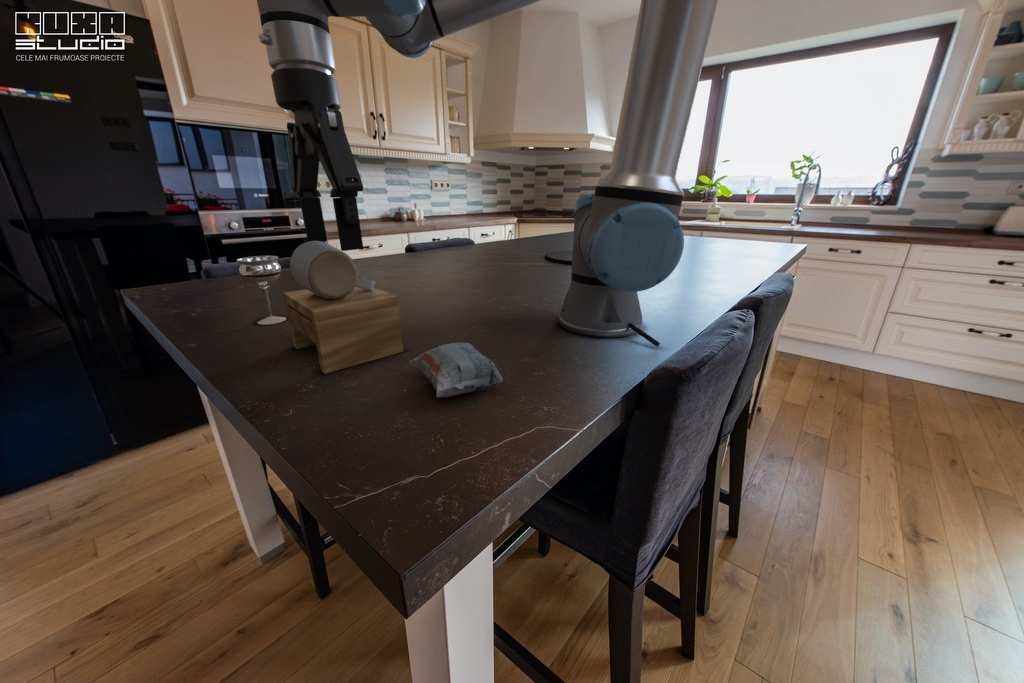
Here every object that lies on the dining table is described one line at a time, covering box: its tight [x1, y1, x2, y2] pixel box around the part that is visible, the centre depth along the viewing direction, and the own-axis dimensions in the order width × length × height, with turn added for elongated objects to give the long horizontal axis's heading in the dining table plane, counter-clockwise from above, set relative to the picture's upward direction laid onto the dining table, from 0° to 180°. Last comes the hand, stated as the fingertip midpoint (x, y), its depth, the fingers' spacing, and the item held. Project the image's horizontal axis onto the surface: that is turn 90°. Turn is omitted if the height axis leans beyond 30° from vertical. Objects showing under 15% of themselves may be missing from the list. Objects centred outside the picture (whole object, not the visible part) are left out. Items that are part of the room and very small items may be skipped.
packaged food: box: [408, 341, 504, 399], centre depth 51 cm, size 9×12×5 cm
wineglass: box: [236, 255, 287, 325], centre depth 75 cm, size 7×7×12 cm
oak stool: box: [282, 286, 404, 375], centre depth 62 cm, size 14×12×9 cm
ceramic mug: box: [289, 241, 376, 299], centre depth 59 cm, size 11×8×8 cm
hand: (333, 245), depth 57 cm, fingers open, 13 cm apart
